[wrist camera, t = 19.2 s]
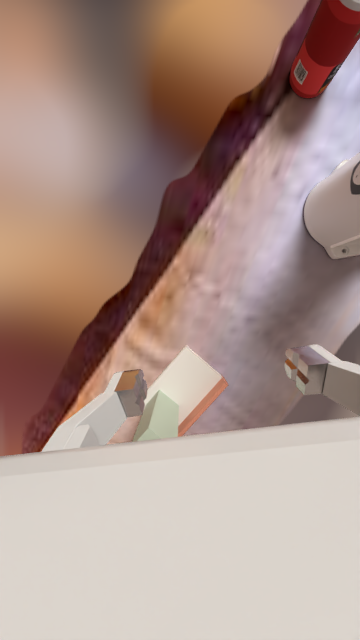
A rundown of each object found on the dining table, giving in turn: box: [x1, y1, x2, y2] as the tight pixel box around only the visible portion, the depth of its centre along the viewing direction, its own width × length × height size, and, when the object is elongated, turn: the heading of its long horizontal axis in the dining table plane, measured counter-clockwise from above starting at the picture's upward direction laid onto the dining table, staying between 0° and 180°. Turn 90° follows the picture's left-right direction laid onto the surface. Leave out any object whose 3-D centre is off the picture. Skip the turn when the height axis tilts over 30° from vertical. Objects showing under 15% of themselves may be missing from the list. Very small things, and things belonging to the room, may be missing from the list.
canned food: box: [290, 0, 360, 98], centre depth 29 cm, size 8×8×11 cm
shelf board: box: [143, 345, 228, 437], centre depth 37 cm, size 17×11×4 cm, turn 139°
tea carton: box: [132, 389, 179, 442], centre depth 32 cm, size 6×4×12 cm
